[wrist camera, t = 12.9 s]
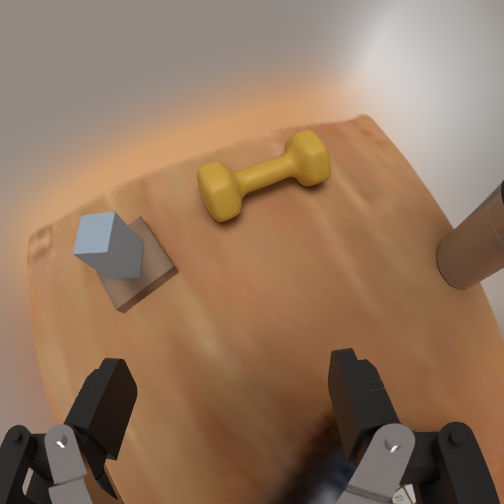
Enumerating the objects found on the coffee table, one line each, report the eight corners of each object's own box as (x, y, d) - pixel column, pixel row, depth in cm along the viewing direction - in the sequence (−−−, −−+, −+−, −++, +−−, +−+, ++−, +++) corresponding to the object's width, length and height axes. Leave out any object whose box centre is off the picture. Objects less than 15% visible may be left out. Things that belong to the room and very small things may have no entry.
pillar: (143, 243, 38) (115, 211, 30) (139, 278, 36) (107, 252, 28) (113, 245, 39) (81, 215, 30) (109, 278, 37) (73, 254, 28)
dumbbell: (303, 152, 47) (308, 117, 40) (331, 191, 44) (342, 158, 36) (198, 190, 45) (187, 157, 37) (218, 237, 41) (208, 207, 34)
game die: (371, 468, 30) (356, 472, 24) (423, 441, 29) (422, 438, 23) (390, 514, 23) (378, 529, 17) (444, 486, 22) (448, 496, 16)
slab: (147, 225, 43) (140, 216, 40) (179, 273, 40) (174, 266, 37) (98, 262, 41) (89, 255, 38) (125, 314, 38) (116, 309, 35)
